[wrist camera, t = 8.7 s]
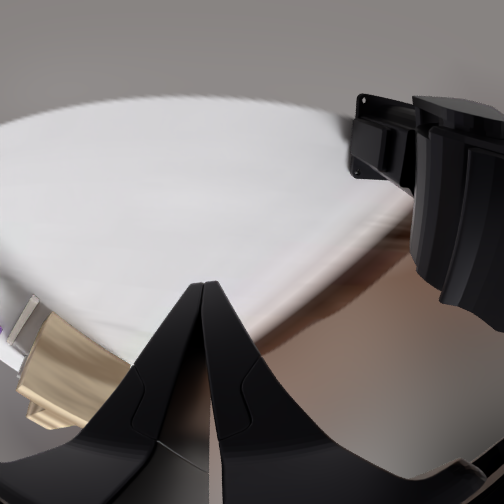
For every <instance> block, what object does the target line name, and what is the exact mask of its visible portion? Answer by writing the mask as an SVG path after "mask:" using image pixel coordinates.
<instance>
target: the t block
mask: <svg viewBox="0 0 504 504" xmlns="http://www.w3.org/2000/svg"><path fill="white" fill-rule="evenodd" d="M129 369H130V364H128V363H126V362H125V361H123V360H122V359H120V358H118V357H117V356H115V355H113V354H112V353H110V352H109V351H107V350H106V349H104V348H102V347H101V346H99V345H98V344H96V343H95V342H94V341H92V340H91V339H89V338H88V337H86V336H85V335H83V334H82V333H81V332H79V331H78V330H76V329H75V328H74V327H72V326H71V325H70V324H68V323H67V322H66V321H64V320H63V319H62V318H61V317H59V316H58V315H57V314H56V313H54V312H53V311H52V313H51V314H50V315H49V316H48V318H47V319H46V320H45V321H44V322H43V324H42V326H41V328H40V330H39V332H38V335H37V337H36V339H35V341H34V344H33V346H32V348H31V351H30V353H29V356H28V358H27V361H26V363H25V366H24V369H23V371H22V374H21V377H20V380H19V383H18V386H17V389H16V391H17V392H18V393H20V394H22V395H23V396H25V397H26V398H28V399H30V403H29V407H28V411H27V414H26V418H28V419H30V420H32V421H34V422H35V423H37V424H39V425H41V426H42V427H45V428H46V429H48V430H50V429H57V428H62V427H68V426H74V425H77V426H79V427H81V428H84V427H85V425H86V424H87V423H88V422H89V421H90V419H91V418H92V417H93V416H94V415H95V413H96V412H97V411H98V410H99V409H100V408H101V406H102V405H103V404H104V403H105V402H106V400H107V399H108V398H109V397H110V395H111V394H112V393H113V392H114V390H115V389H116V388H117V386H118V385H119V384H120V382H121V381H122V379H123V378H124V377H125V375H126V374H127V372H128V371H129Z"/></svg>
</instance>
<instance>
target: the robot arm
mask: <svg viewBox="0 0 504 504" xmlns="http://www.w3.org/2000/svg"><path fill="white" fill-rule="evenodd" d="M364 97H365V99H366V102H365V103H363V102H362V99H363V98H364ZM412 99H413V105H412V104H408V103H404V102H400V101H396V100H392V99H388V98H383V97H379V96H374V95H369V94H359V95H358V96H357V101H356V116H355V119H354V120H353V128H352V140H351V149H350V152H351V154H352V158H351V167H350V174H351V175H352V176H353V177H354V178H356V179H374V180H389V181H391V182H392V183H394V184H395V185H396V186H398V187H399V188H401V189H402V190H403V191H405V192H406V193H408V194H409V195H410V196H412V197H413V198H414V207H413V218H412V224H411V236H410V254H411V256H412V258H413V260H414V262H415V264H416V266H417V268H416V271H417V273H418V274H419V275H420V276H421V277H422V278H423V279H424V280H425V281H426V282H427V283H429V284H430V285H432V286H433V287H434V288H436V289H438V290H440V291H442V292H441V295H440V297H439V301H440V303H442V304H447V305H453V306H458V307H460V308H463V309H465V310H467V311H470V312H472V313H474V314H475V315H476V316H478V317H479V318H481V319H482V320H483V321H485V322H486V323H487V324H488V325H489V326H491V327H492V328H493V329H494V330H496V331H498V332H503V333H504V114H502V113H501V112H500V111H498V110H497V109H495V108H494V107H492V106H489V105H486V104H482V103H478V102H474V101H470V100H465V99H458V98H447V97H432V96H412ZM357 169H359V172H358V173H357V174H355V171H356V170H357ZM211 401H212V408H213V414H214V420H215V426H216V432H217V438H218V441H219V448H220V455H221V462H222V496H223V504H504V437H503V438H502V439H500V440H499V441H498V442H496V443H495V444H494V445H492V446H491V447H490V448H489V449H487V450H486V451H484V452H483V453H482V454H481V455H479V456H478V457H477V458H475V459H474V460H472V461H471V462H468V461H466V460H465V459H463V458H457V459H455V460H452V461H450V462H448V463H446V464H444V465H441V466H439V467H437V468H435V469H433V470H430V471H428V472H425V473H423V474H420V475H418V476H415V477H412V478H410V479H405V478H402V477H399V476H397V475H395V474H393V473H391V472H389V471H387V470H385V469H383V468H380V467H379V466H376V465H375V464H373V463H371V462H369V461H367V460H365V459H363V458H362V457H360V456H358V455H356V454H354V453H352V452H351V451H349V450H347V449H346V448H344V447H342V446H340V445H339V444H338V443H336V442H335V441H334V440H332V439H331V438H330V437H329V436H328V435H327V434H326V433H324V431H323V430H321V429H320V428H319V427H318V425H316V423H315V422H314V421H313V420H312V419H311V418H310V417H309V416H308V415H307V414H306V413H305V412H304V410H303V409H302V408H301V407H300V406H299V405H298V404H297V403H296V402H295V401H294V400H293V398H292V397H291V396H290V395H289V394H288V393H287V392H286V390H285V389H284V388H283V387H282V385H281V384H280V383H279V382H278V380H277V379H276V377H275V376H274V374H273V373H272V371H271V370H270V368H269V367H268V365H267V364H266V362H265V360H264V359H263V357H261V354H260V352H259V351H258V349H257V348H256V346H255V344H254V343H253V341H252V339H251V338H250V336H249V334H248V332H247V331H246V329H245V327H244V326H243V324H242V322H241V321H240V319H239V317H238V315H237V314H236V312H235V310H234V309H233V307H232V305H231V303H230V302H229V300H228V298H227V296H226V295H225V293H224V291H223V289H222V287H221V286H220V284H219V282H218V281H209V282H205V283H202V282H200V283H192V284H190V285H189V287H188V288H187V289H186V291H185V292H184V293H183V295H182V296H181V297H180V299H179V300H178V302H177V303H176V304H175V306H174V307H173V309H172V310H171V311H170V313H169V314H168V315H167V317H166V318H165V320H164V321H163V322H162V324H161V325H160V327H159V328H158V329H157V331H156V332H155V334H154V335H153V337H152V338H151V339H150V341H149V342H148V344H147V345H146V346H145V348H144V349H143V351H142V352H141V354H140V355H139V357H138V358H137V359H136V361H135V362H134V365H132V367H131V368H130V369H129V371H128V372H127V374H126V375H125V377H124V378H123V379H122V381H121V382H120V384H119V385H118V386H117V388H116V389H115V390H114V392H113V393H112V394H111V395H110V397H109V398H108V399H107V400H106V402H105V403H104V404H103V405H102V406H101V408H100V409H99V410H98V411H97V412H96V413H95V415H94V416H93V417H92V418H91V419H90V421H89V422H88V423H87V424H86V425H85V427H84V428H83V429H82V430H81V431H80V432H79V433H78V434H77V435H76V436H75V437H74V438H73V439H71V440H70V441H69V442H67V443H65V444H63V445H61V446H58V447H55V448H53V449H50V450H47V451H44V452H41V453H38V454H35V455H32V456H29V457H26V458H23V459H19V460H16V461H12V462H5V463H1V462H0V504H209V474H208V473H209V435H210V405H211Z"/></svg>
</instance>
